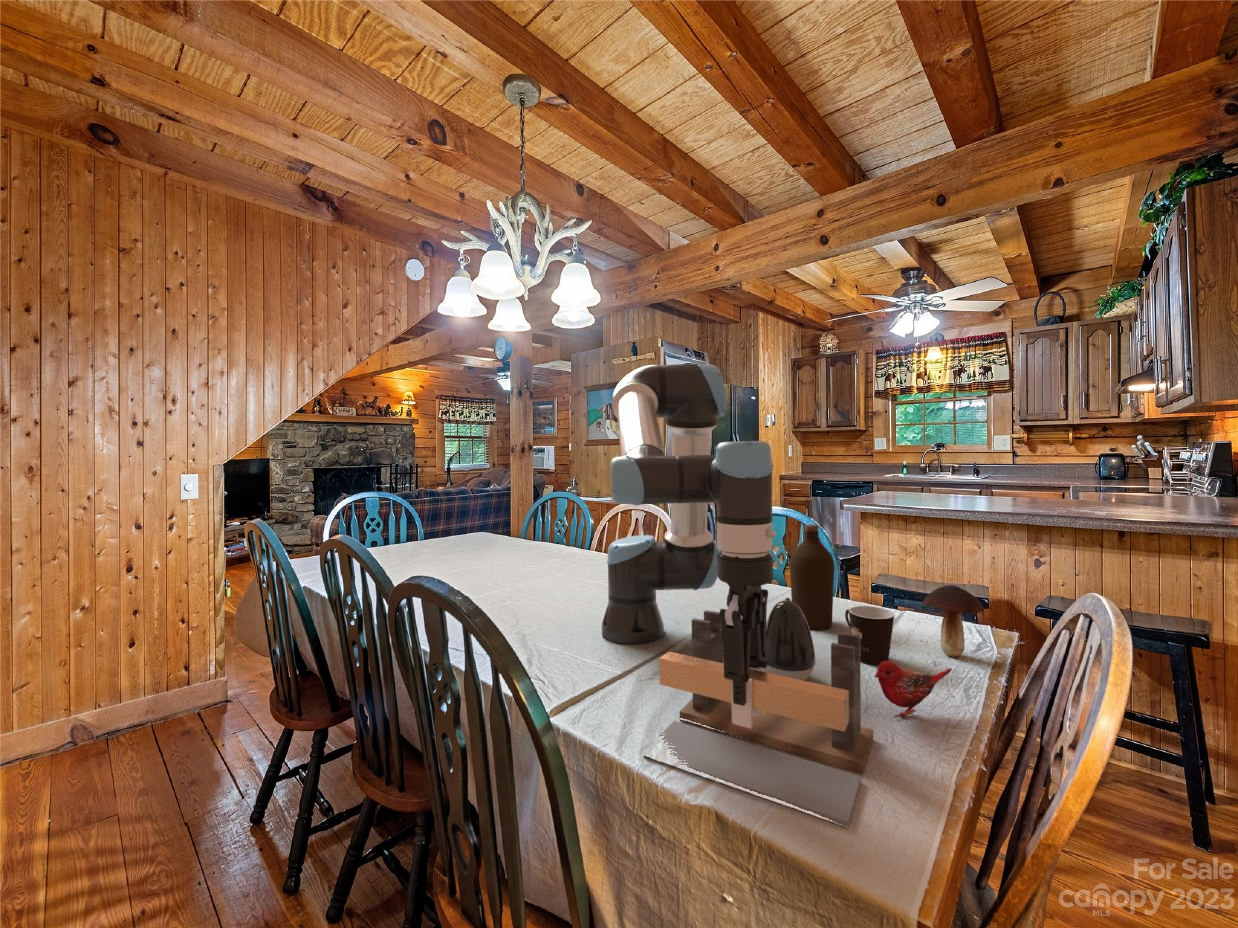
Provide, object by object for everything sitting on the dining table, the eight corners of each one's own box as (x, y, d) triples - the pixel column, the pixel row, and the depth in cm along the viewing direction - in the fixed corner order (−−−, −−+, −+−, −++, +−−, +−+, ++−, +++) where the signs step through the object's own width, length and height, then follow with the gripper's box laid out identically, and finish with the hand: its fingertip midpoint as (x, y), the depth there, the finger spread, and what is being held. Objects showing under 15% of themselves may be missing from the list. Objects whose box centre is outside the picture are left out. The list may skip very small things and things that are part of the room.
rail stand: (679, 719, 88) (678, 621, 87) (704, 695, 96) (702, 605, 95) (863, 774, 72) (862, 655, 72) (873, 739, 81) (873, 633, 80)
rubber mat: (643, 756, 78) (643, 751, 77) (674, 725, 86) (674, 720, 86) (847, 828, 62) (847, 821, 62) (861, 782, 71) (861, 776, 71)
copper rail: (659, 684, 79) (659, 658, 79) (669, 676, 82) (668, 651, 82) (844, 731, 65) (844, 699, 65) (848, 720, 68) (848, 690, 68)
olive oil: (805, 632, 126) (804, 529, 126) (782, 619, 137) (781, 523, 136) (844, 628, 129) (843, 527, 128) (818, 615, 139) (817, 521, 138)
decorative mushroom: (912, 647, 116) (911, 580, 116) (958, 644, 117) (958, 578, 117) (946, 667, 106) (947, 593, 105) (998, 665, 106) (998, 591, 106)
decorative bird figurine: (867, 720, 86) (867, 660, 86) (944, 699, 93) (944, 643, 92) (882, 728, 84) (881, 666, 83) (960, 707, 90) (960, 649, 90)
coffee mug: (900, 669, 105) (900, 619, 105) (854, 666, 107) (853, 617, 107) (883, 647, 117) (883, 602, 117) (841, 644, 119) (841, 601, 118)
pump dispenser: (815, 669, 106) (814, 595, 105) (816, 693, 96) (815, 610, 96) (762, 664, 109) (761, 591, 109) (758, 685, 99) (757, 606, 99)
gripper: (751, 566, 64) (754, 755, 65) (787, 544, 78) (789, 701, 78) (695, 560, 68) (698, 738, 69) (738, 540, 82) (740, 689, 83)
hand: (746, 718), depth 74 cm, fingers closed on copper rail, 3 cm apart
